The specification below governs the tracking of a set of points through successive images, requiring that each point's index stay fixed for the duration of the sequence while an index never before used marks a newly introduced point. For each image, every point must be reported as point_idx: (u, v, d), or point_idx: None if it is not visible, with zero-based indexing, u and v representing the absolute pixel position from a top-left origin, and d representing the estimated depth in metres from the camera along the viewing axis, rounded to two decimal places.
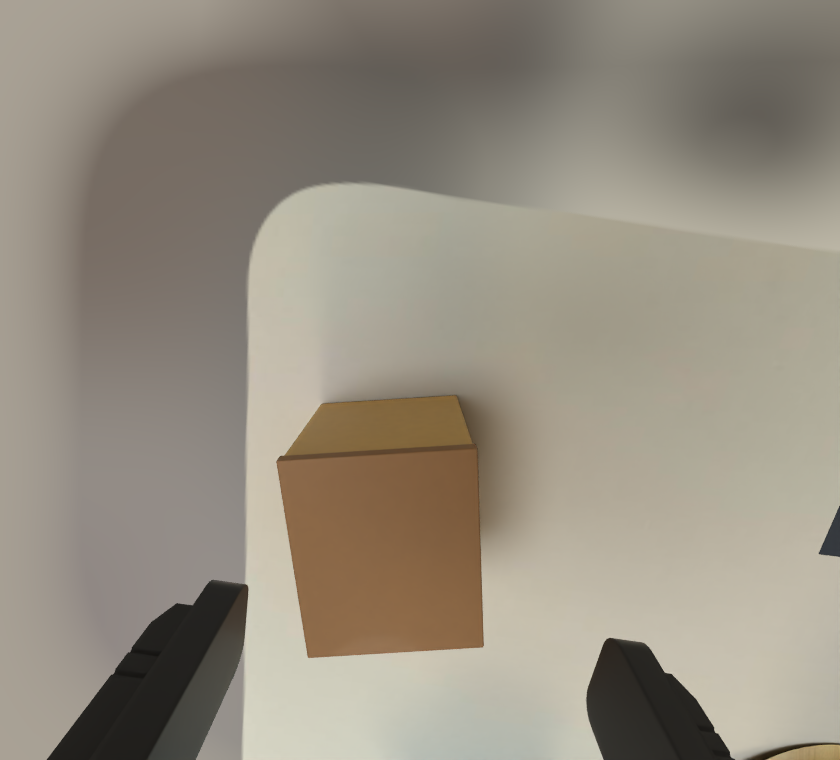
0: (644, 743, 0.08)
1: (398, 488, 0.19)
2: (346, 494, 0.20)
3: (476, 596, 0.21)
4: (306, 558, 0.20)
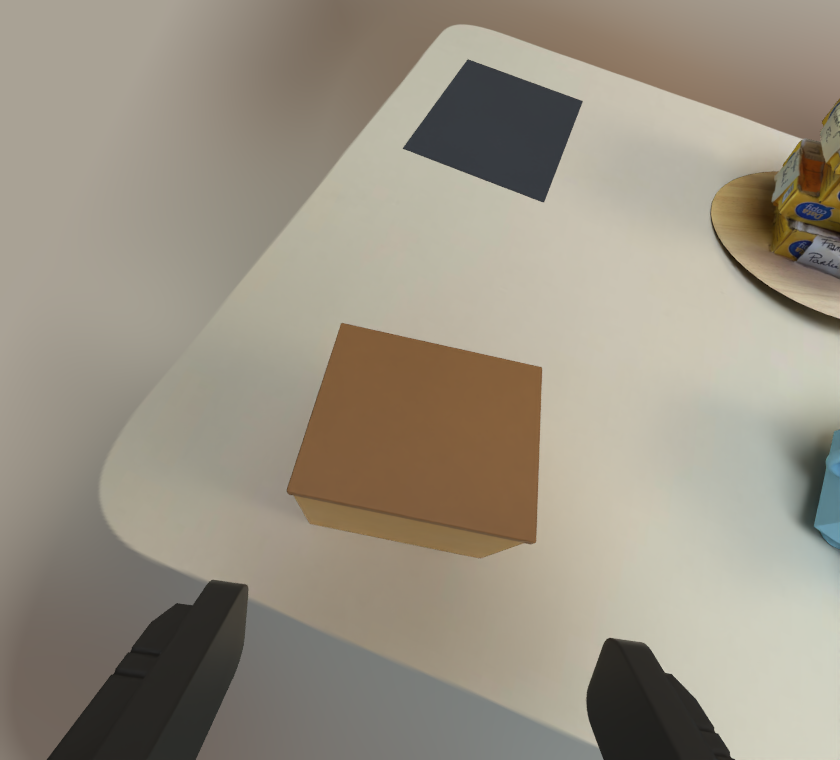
0: (644, 743, 0.08)
1: (356, 389, 0.21)
2: (346, 435, 0.20)
3: (485, 358, 0.23)
4: (406, 499, 0.19)
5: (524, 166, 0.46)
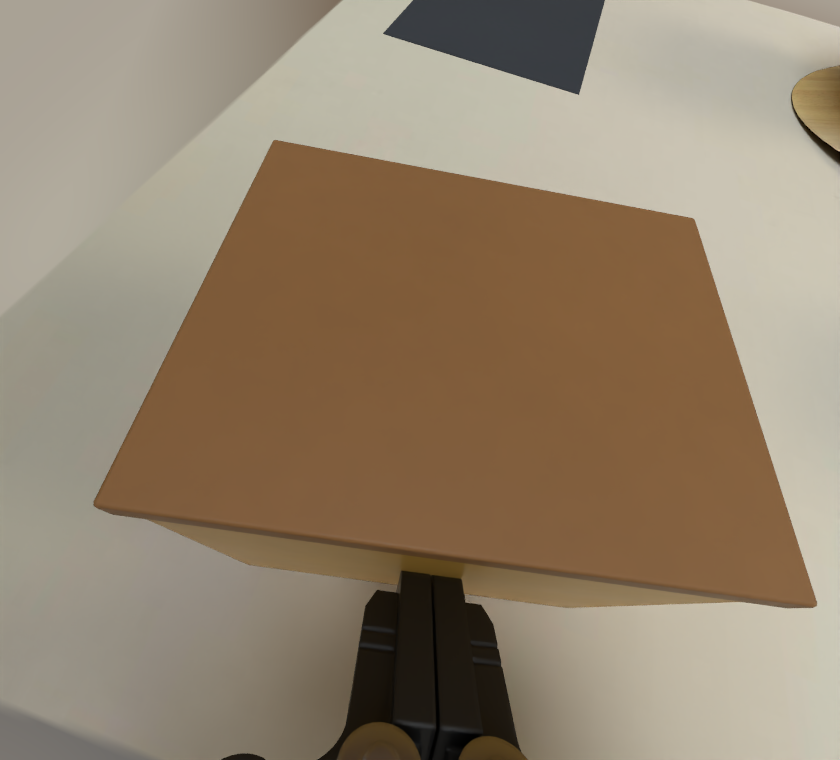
0: None
1: (306, 255, 0.09)
2: (279, 351, 0.08)
3: (579, 202, 0.11)
4: (449, 506, 0.07)
5: (546, 56, 0.34)
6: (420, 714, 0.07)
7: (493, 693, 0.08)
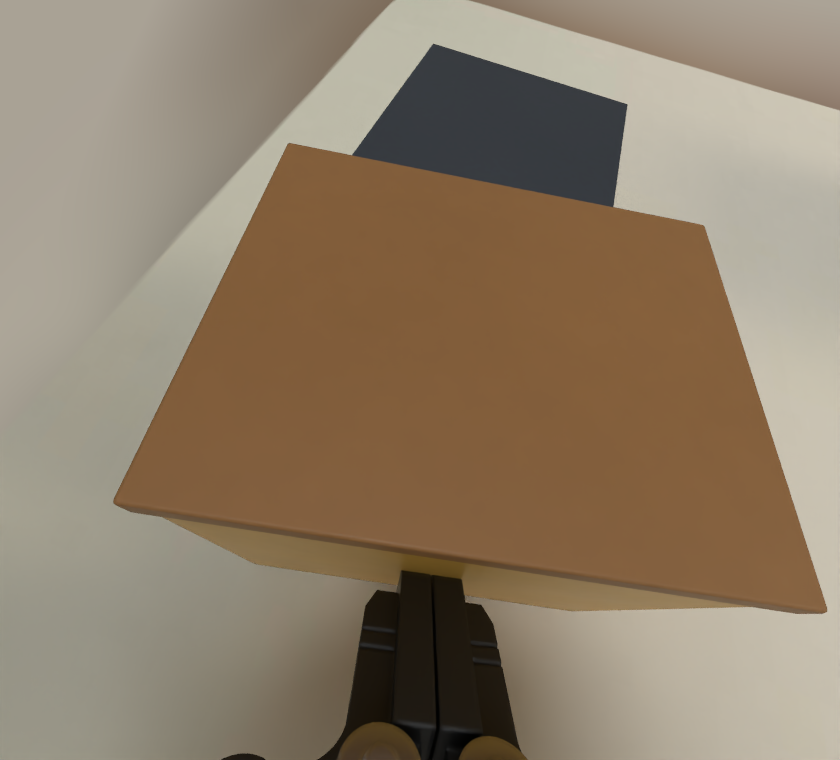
0: None
1: (321, 258, 0.09)
2: (295, 352, 0.08)
3: (590, 208, 0.11)
4: (463, 508, 0.07)
5: None
6: (420, 714, 0.07)
7: (493, 693, 0.08)
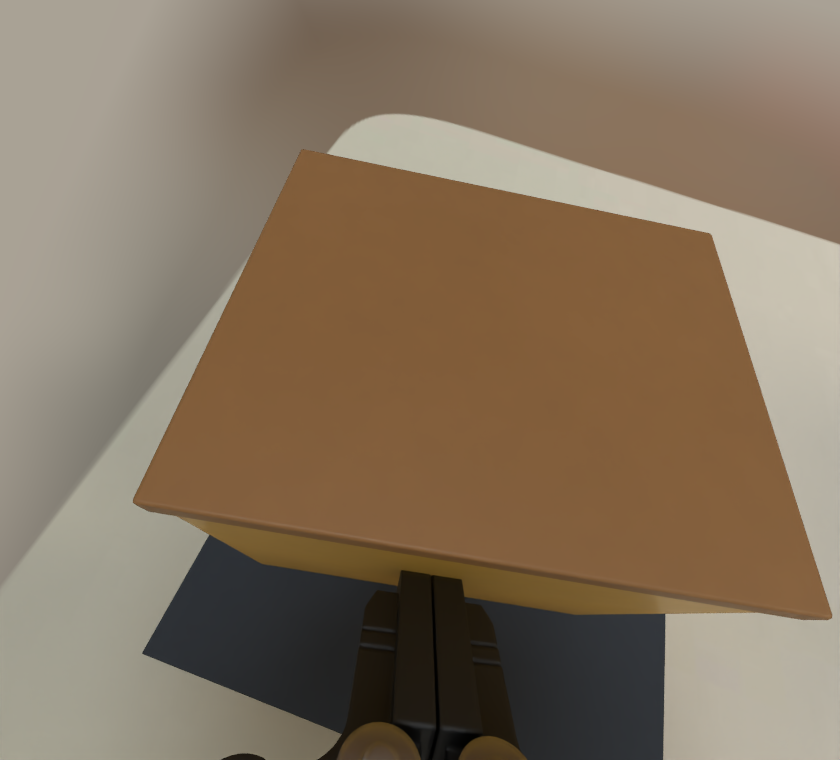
0: None
1: (334, 263, 0.09)
2: (309, 356, 0.08)
3: (599, 216, 0.11)
4: (474, 511, 0.07)
5: (568, 636, 0.14)
6: (420, 714, 0.07)
7: (493, 693, 0.08)
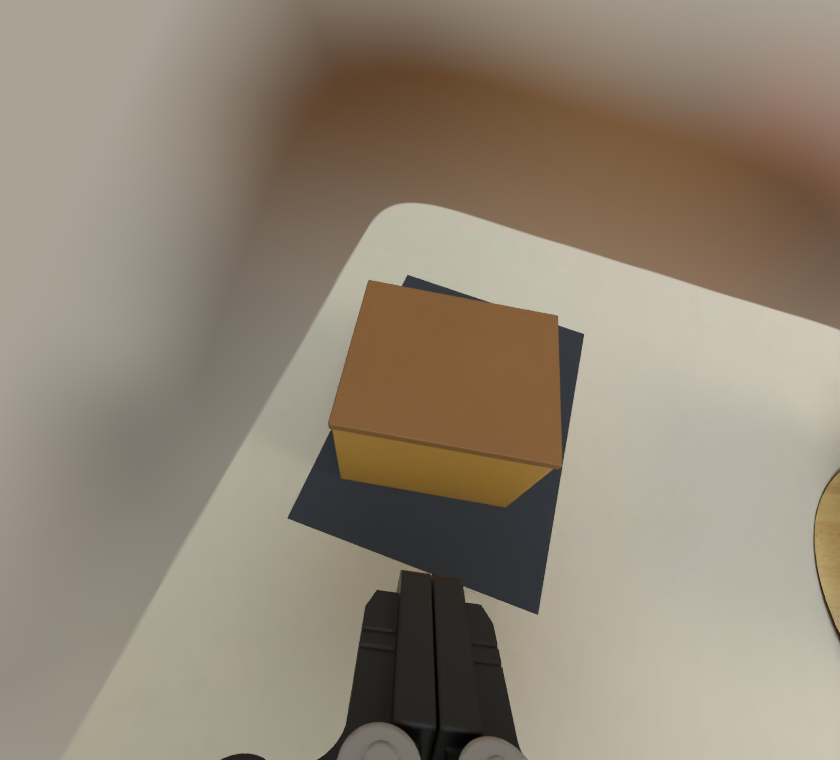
0: None
1: (386, 336, 0.22)
2: (380, 375, 0.21)
3: (504, 308, 0.24)
4: (439, 429, 0.20)
5: (500, 518, 0.27)
6: (420, 714, 0.07)
7: (493, 693, 0.08)
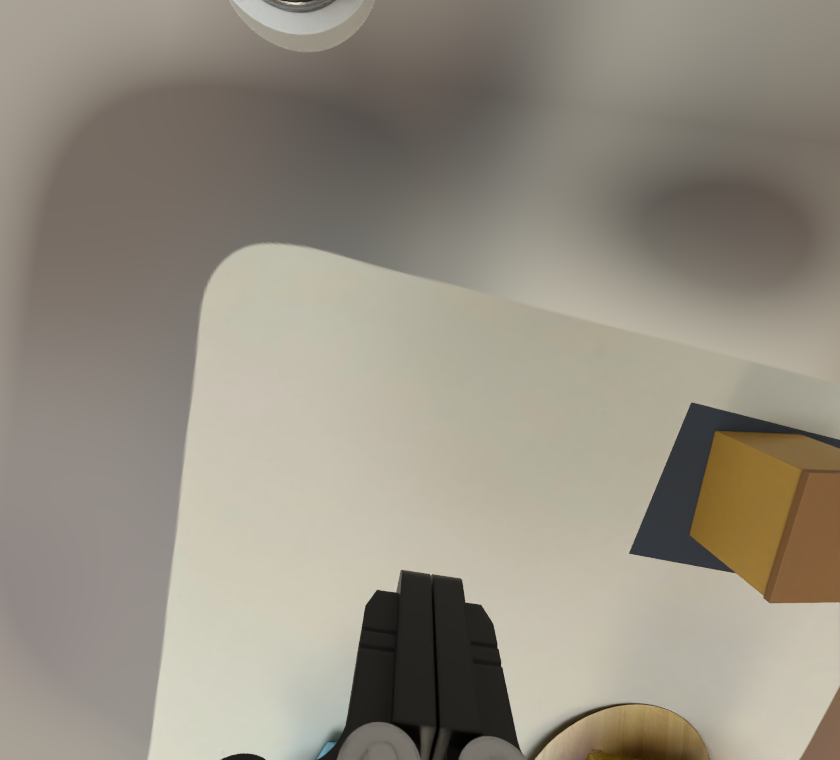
0: None
1: None
2: (839, 496, 0.31)
3: None
4: (799, 536, 0.32)
5: (682, 531, 0.42)
6: (420, 714, 0.07)
7: (493, 693, 0.08)
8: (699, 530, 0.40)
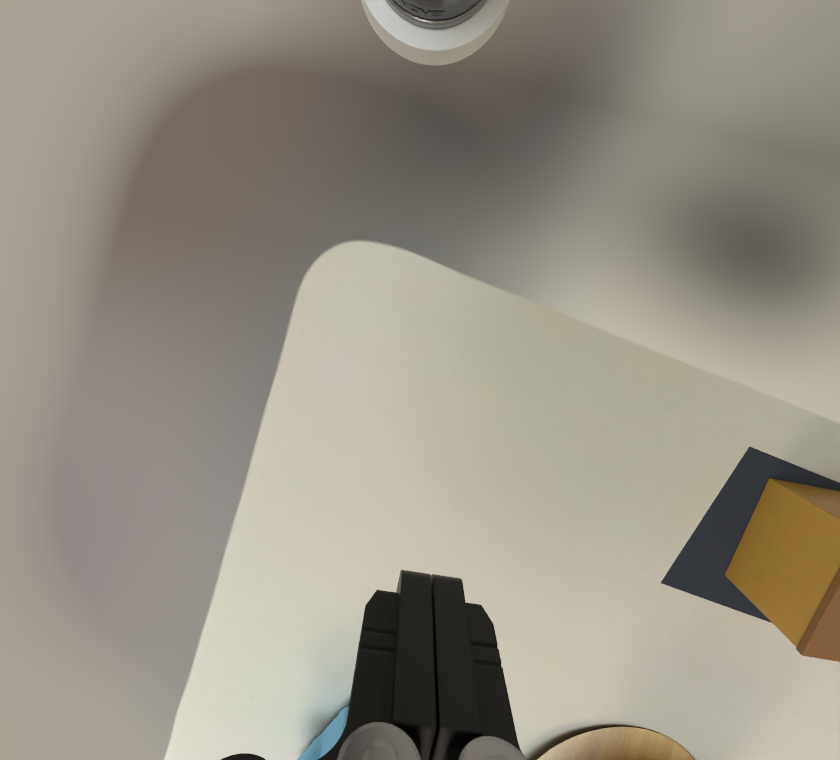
0: None
1: None
2: None
3: None
4: None
5: (718, 571, 0.42)
6: (420, 714, 0.07)
7: (493, 693, 0.08)
8: (736, 572, 0.41)
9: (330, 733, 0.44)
